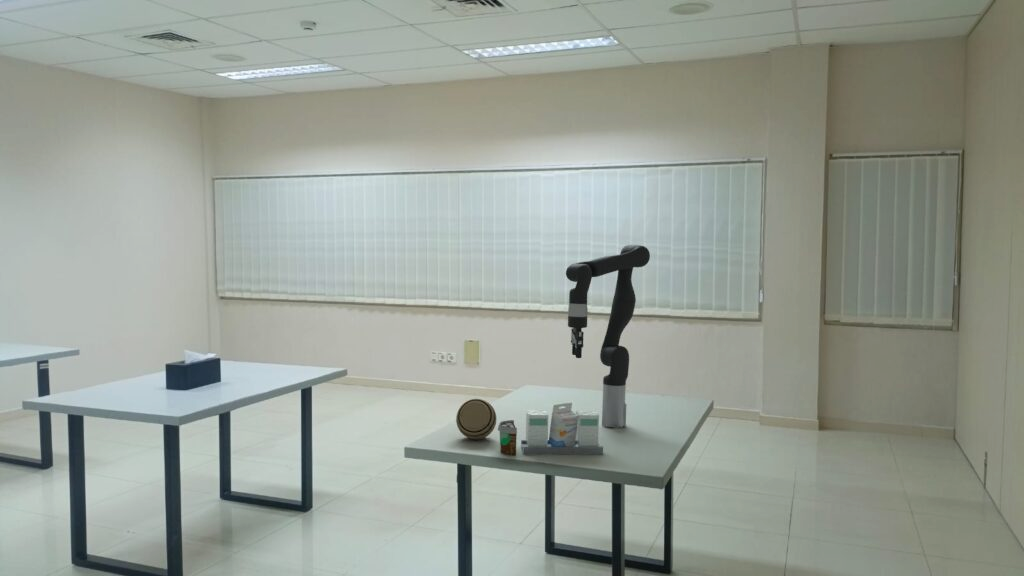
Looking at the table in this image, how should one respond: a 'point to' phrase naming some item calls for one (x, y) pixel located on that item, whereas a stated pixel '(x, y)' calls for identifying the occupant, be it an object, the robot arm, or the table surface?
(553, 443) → the ink box
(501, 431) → the food container
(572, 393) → the table surface
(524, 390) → the table surface
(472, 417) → the mechanical component
